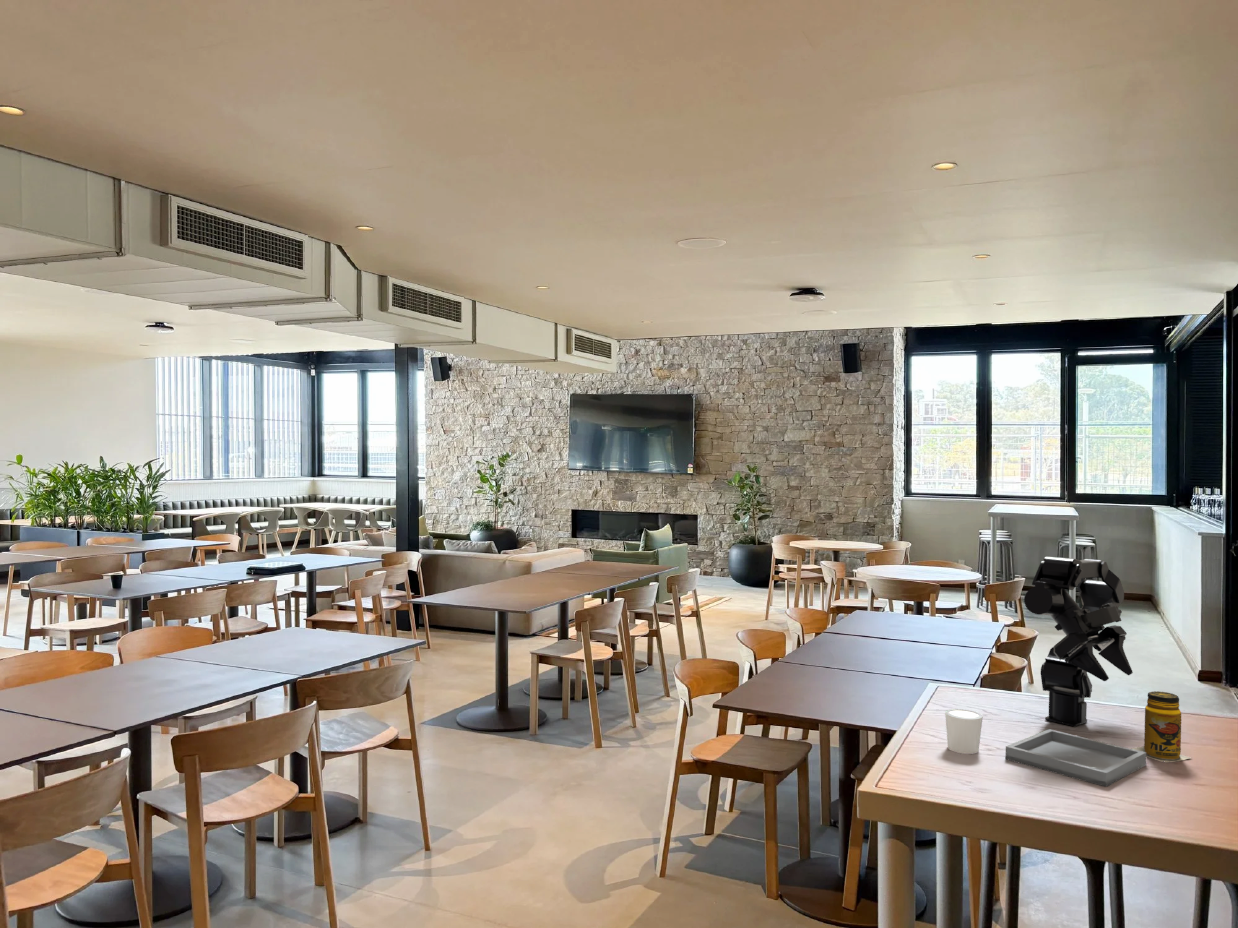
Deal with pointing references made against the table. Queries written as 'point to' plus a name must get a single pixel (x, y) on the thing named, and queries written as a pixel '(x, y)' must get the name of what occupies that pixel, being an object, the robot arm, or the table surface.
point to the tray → (1076, 757)
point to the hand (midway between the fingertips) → (1119, 676)
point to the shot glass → (963, 730)
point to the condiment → (1162, 728)
